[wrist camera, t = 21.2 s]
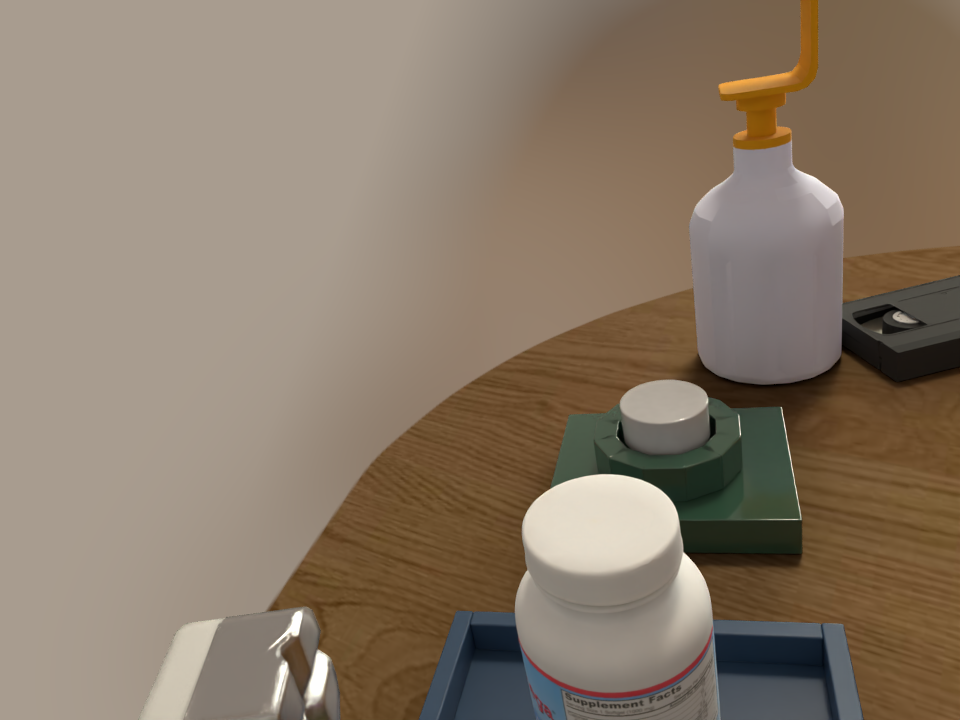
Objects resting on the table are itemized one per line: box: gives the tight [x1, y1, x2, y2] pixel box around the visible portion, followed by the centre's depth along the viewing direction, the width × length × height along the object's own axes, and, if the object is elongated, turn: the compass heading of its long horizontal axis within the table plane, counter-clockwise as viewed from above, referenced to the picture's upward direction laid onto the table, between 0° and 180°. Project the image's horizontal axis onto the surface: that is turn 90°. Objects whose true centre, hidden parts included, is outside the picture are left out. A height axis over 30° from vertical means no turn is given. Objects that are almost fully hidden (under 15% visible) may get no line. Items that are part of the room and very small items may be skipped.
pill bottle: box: [515, 474, 721, 720], centre depth 26 cm, size 6×6×11 cm
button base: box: [550, 397, 803, 554], centre depth 42 cm, size 12×10×4 cm
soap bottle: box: [689, 0, 844, 385], centre depth 49 cm, size 9×9×25 cm
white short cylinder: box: [620, 380, 711, 455], centre depth 41 cm, size 4×4×2 cm
